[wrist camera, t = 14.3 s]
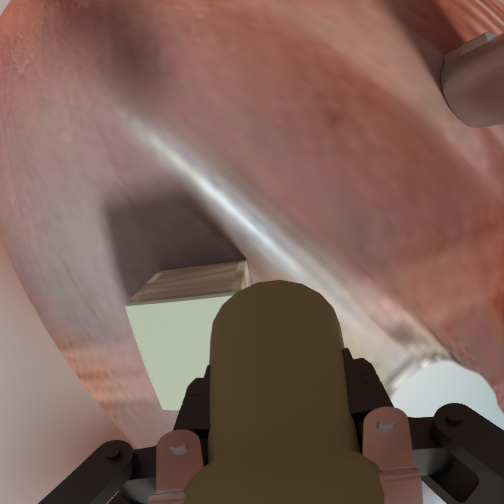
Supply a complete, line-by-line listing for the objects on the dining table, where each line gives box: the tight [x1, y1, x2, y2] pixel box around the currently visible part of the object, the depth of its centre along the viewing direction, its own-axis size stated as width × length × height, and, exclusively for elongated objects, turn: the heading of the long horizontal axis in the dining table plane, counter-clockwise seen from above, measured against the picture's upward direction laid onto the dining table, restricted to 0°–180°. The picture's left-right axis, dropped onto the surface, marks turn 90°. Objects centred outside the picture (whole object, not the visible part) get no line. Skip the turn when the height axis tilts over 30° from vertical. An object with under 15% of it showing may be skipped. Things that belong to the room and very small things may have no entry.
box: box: [131, 260, 251, 302], centre depth 30 cm, size 12×10×8 cm
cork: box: [183, 280, 385, 504], centre depth 8 cm, size 6×6×11 cm
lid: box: [125, 291, 237, 410], centre depth 26 cm, size 12×10×1 cm
